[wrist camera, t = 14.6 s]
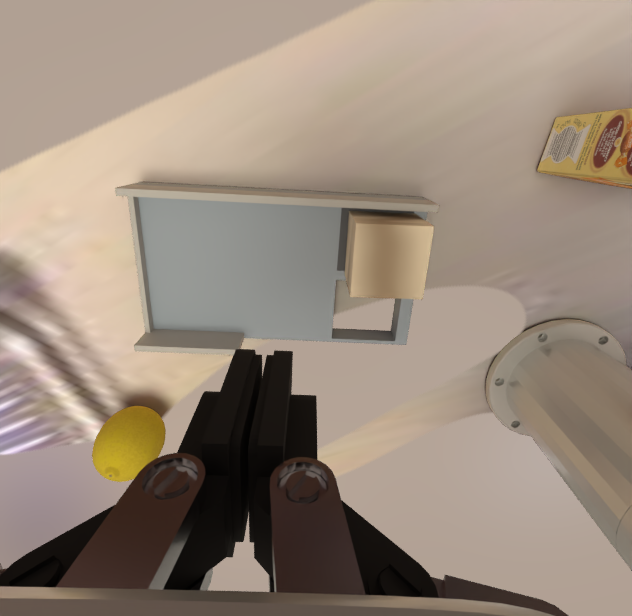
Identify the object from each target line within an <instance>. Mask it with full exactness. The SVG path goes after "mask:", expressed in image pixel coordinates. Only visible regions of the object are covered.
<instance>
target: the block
mask: <svg viewBox="0 0 632 616" xmlns="http://www.w3.org/2000/svg"><path fill="white" fill-rule="evenodd" d="M433 231H434V226H433V225H431V224H430V223H428V222H427V221H425V220H424V219H422V218H421V217H420V216H418V215H417V214H415V213H390V212H365V211H349V220H348V234H347V248H346V262H345V278H346V282H347V286H348V290H349V294H350V297H368V298H397V299H423V295H424V288H425V282H426V276H427V269H428V263H429V256H430V250H431V244H432V237H433Z"/></svg>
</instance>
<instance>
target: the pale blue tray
mask: <svg viewBox="0 0 632 616" xmlns="http://www.w3.org/2000/svg"><path fill="white" fill-rule="evenodd" d="M115 192H116V196H128V204H129V212H130V220H131V227H132V235H133V243H134V250H135V258H136V266H137V273H138V281H139V289H140V296H141V304H142V312H143V319H144V327H145V334H144V335H143V336H142V337H141V338H140V339H139V341H138V342H137V343H136V344H135V345H134V348H135V351H141V352H166V353H190V354H214V355H234V353H235V350H236V349H240V348H241V345H242V342H243V340H244V338H257V339H280V340H281V339H282V340H305V341H327V342H352V343H375V344H399V345H406V342H407V337H408V330H409V324H410V317H411V312H412V305H413V299H397V298H395V305H394V313H393V320H392V328H391V331H378V330H356V329H333V328H332V327H333V314H334V301H335V288H336V280H345V281H346V278H345V262H346V248H347V234H348V220H349V211H365V212H390V213H415V214H417V215H418V216H420V217H421V218H422V219H424V220H425V221H426V218H427V212H436V213H438V211H439V205H438V204H436V203H434V202H432V201H430V200H428V199H426V198H424V197H415V196H396V195H377V194H359V193H340V192H322V191H303V190H284V189H266V188H247V187H228V186H210V185H191V184H172V183H154V182H139V183H135V184H130V185H126V186H122V187H117V188H115Z"/></svg>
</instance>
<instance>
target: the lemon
mask: <svg viewBox="0 0 632 616" xmlns="http://www.w3.org/2000/svg"><path fill="white" fill-rule="evenodd" d="M164 441H165V426H164V422H163V420H162V419H161V417H160V416H159V415H158V413H157V412H155V411H154V410H152V409H150V408H148V407H144V406H132V407H127V408H125V409H123V410H121V411H118V412H117V413H115V414H114V415H113V416H112V417H111V418H110V419H108V420H107V421H106V423H105V424H104V425H103V427H102V428H101V430H100V432H99V433H98V435H97V437H96V440H95V443H94V447H93V453H92V457H93V463H94V466H95V468H96V470H97V471H98V472H99V473H100V474H101V475H102V476H103V477H105V478H107V479H109V480H112V481H118V482H122V481H129V480H132V479H135V477H136V476H137V474H138V473H139V472H140V471H141V470H142V469H143V468H144V467H145V466H146V465H147V464H148V463H150V462H151V461H153V460H154V459H156V458H158V456H159V454H160V452H161V450H162V448H163V445H164Z"/></svg>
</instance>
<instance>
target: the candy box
mask: <svg viewBox="0 0 632 616" xmlns="http://www.w3.org/2000/svg"><path fill="white" fill-rule="evenodd" d="M537 171H538V172H540V173H546V174H550V175H555V176H560V177H566V178H572V179H577V180H583V181H589V182H595V183H600V184H606V185H612V186H618V187H624V188H631V189H632V108H628V109H619V110H612V111H604V112H596V113H589V114H581V115H572V116H565V117H557V118H556V119H555V122H554V125H553V127H552V130H551V133H550V136H549V139H548V142H547V144H546V147H545V150H544V153H543V156H542V158H541V161H540V164H539V166H538V169H537Z"/></svg>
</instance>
